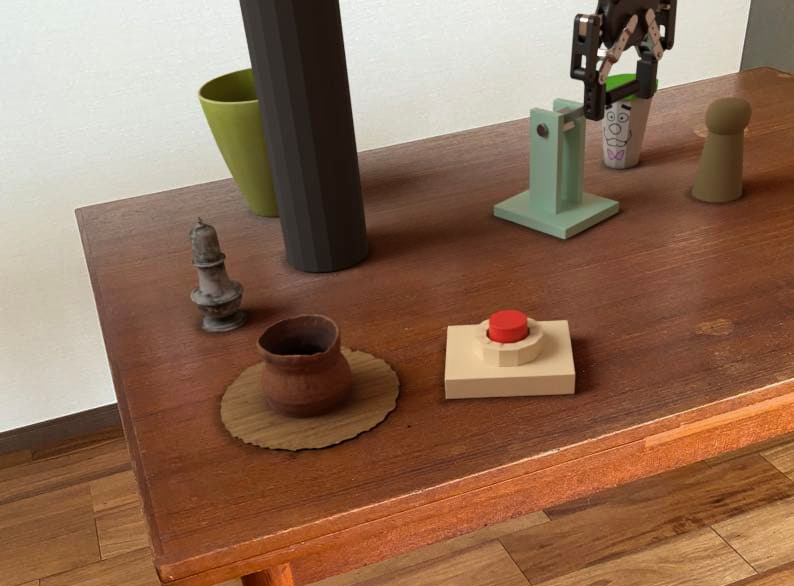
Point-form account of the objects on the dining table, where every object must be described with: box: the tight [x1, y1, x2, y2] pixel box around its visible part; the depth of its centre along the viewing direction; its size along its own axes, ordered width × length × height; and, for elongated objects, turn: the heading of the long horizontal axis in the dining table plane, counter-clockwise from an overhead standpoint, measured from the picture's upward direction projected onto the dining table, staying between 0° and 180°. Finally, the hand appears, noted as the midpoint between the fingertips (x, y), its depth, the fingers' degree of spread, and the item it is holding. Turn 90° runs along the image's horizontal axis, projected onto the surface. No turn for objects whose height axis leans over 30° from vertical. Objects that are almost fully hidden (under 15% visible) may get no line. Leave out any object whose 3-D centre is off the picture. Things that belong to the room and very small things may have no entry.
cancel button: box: [488, 309, 528, 344], centre depth 84 cm, size 4×4×2 cm
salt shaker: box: [188, 216, 248, 334], centre depth 96 cm, size 6×6×12 cm
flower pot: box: [197, 67, 279, 218], centre depth 118 cm, size 15×15×16 cm
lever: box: [556, 79, 641, 132], centre depth 101 cm, size 12×5×2 cm, turn 41°
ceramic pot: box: [219, 313, 401, 452], centre depth 84 cm, size 18×18×7 cm
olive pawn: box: [691, 96, 753, 203], centre depth 108 cm, size 6×6×11 cm
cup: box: [601, 73, 659, 170], centre depth 117 cm, size 8×8×15 cm
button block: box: [444, 317, 576, 400], centre depth 86 cm, size 12×10×4 cm
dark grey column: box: [238, 0, 370, 274], centre depth 100 cm, size 10×10×30 cm
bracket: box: [493, 97, 620, 241], centre depth 108 cm, size 12×10×13 cm
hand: (619, 108), depth 97 cm, fingers open, 8 cm apart
